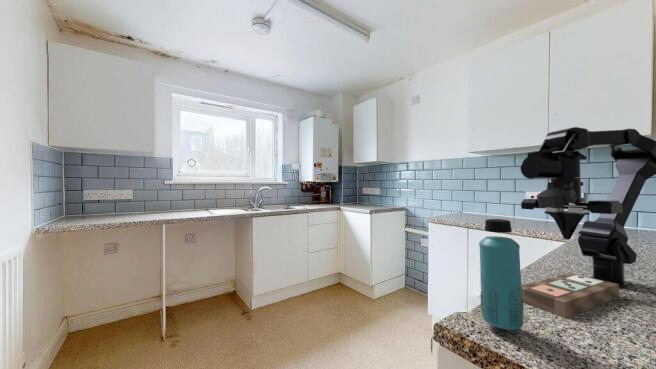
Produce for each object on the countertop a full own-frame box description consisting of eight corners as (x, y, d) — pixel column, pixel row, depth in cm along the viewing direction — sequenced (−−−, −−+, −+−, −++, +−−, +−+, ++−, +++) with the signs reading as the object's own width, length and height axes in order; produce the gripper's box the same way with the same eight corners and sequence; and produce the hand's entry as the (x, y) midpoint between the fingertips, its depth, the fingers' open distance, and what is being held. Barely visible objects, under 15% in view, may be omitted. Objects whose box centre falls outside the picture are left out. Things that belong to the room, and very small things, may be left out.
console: (570, 284, 68) (570, 272, 69) (619, 297, 60) (619, 284, 60) (516, 300, 60) (516, 286, 60) (565, 317, 52) (564, 302, 52)
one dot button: (543, 295, 61) (543, 283, 61) (570, 303, 56) (570, 291, 56) (530, 299, 59) (530, 287, 59) (557, 308, 54) (556, 295, 54)
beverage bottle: (532, 341, 44) (528, 221, 44) (488, 337, 45) (485, 221, 46) (513, 321, 51) (510, 217, 51) (475, 319, 52) (472, 217, 52)
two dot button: (577, 285, 66) (576, 274, 66) (604, 292, 61) (603, 280, 62) (565, 288, 64) (565, 277, 64) (593, 295, 60) (592, 284, 60)
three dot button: (561, 290, 63) (560, 279, 63) (588, 297, 59) (587, 286, 59) (548, 293, 61) (548, 282, 61) (575, 302, 57) (575, 290, 57)
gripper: (507, 179, 73) (509, 236, 73) (597, 176, 56) (599, 250, 56) (532, 179, 77) (534, 232, 77) (622, 176, 60) (625, 244, 60)
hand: (567, 239), depth 67 cm, fingers closed
